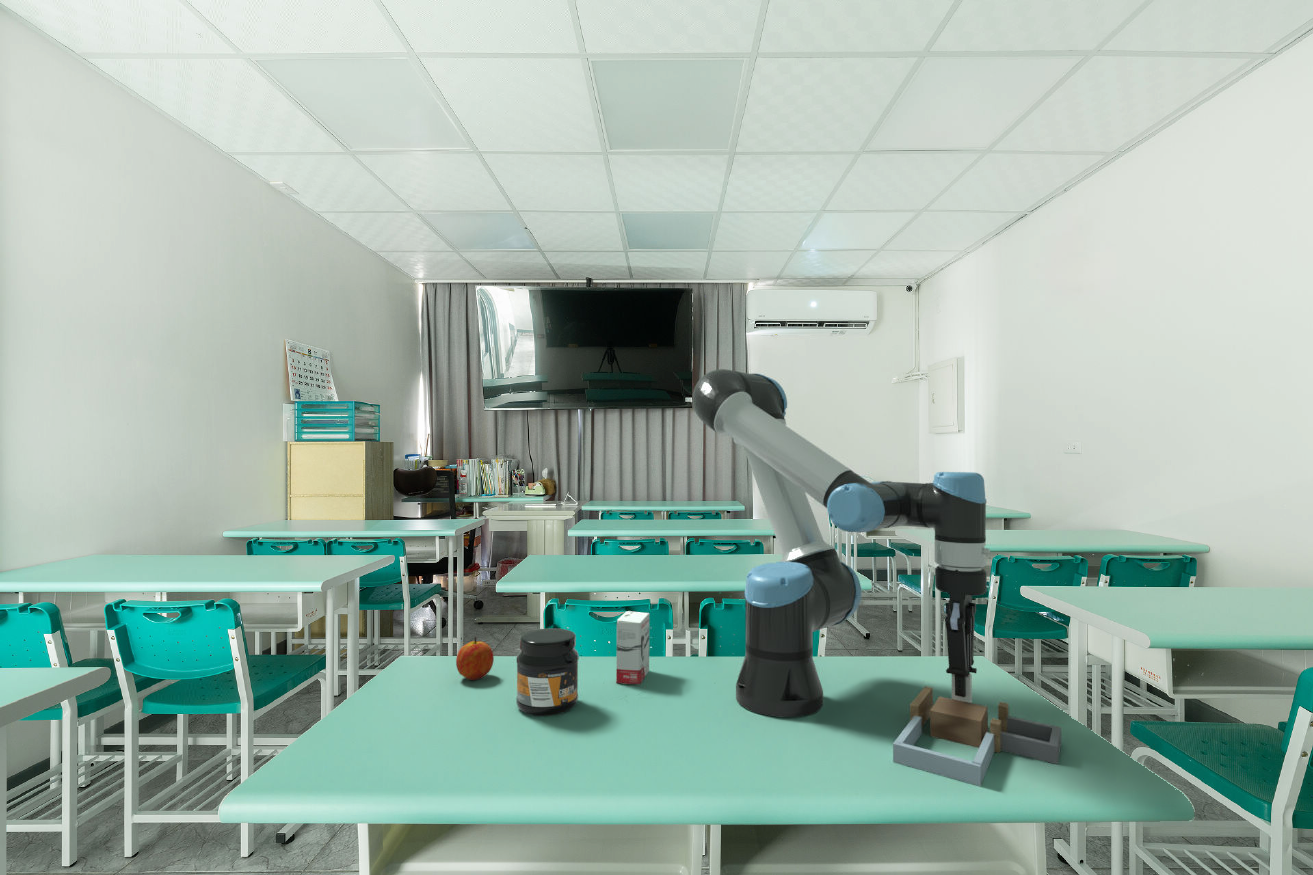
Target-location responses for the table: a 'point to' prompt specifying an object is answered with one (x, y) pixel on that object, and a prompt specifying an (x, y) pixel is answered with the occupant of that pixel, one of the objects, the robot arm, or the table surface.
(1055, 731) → the trap pit
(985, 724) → the block
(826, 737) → the table surface
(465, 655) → the fruit
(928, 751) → the dock
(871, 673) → the table surface
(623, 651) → the ink box
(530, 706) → the supplement container
